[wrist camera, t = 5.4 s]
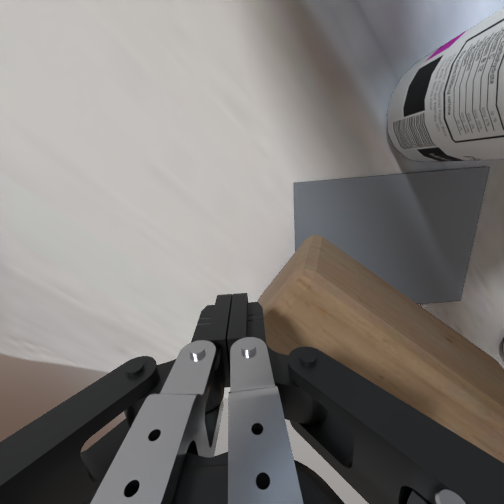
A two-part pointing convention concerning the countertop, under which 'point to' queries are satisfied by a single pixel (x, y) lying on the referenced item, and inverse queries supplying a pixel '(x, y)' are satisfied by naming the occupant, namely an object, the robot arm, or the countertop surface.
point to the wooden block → (385, 341)
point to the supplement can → (453, 99)
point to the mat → (399, 226)
